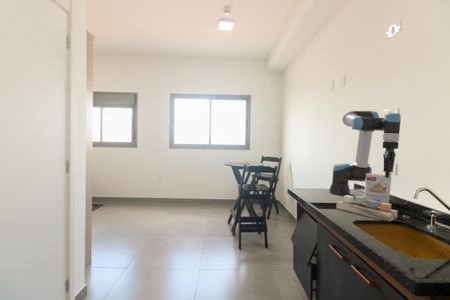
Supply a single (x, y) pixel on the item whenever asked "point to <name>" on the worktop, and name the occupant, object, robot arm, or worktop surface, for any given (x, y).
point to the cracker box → (376, 189)
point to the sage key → (360, 200)
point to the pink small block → (385, 207)
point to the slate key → (372, 204)
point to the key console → (367, 211)
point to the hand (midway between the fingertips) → (387, 183)
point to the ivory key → (348, 199)
